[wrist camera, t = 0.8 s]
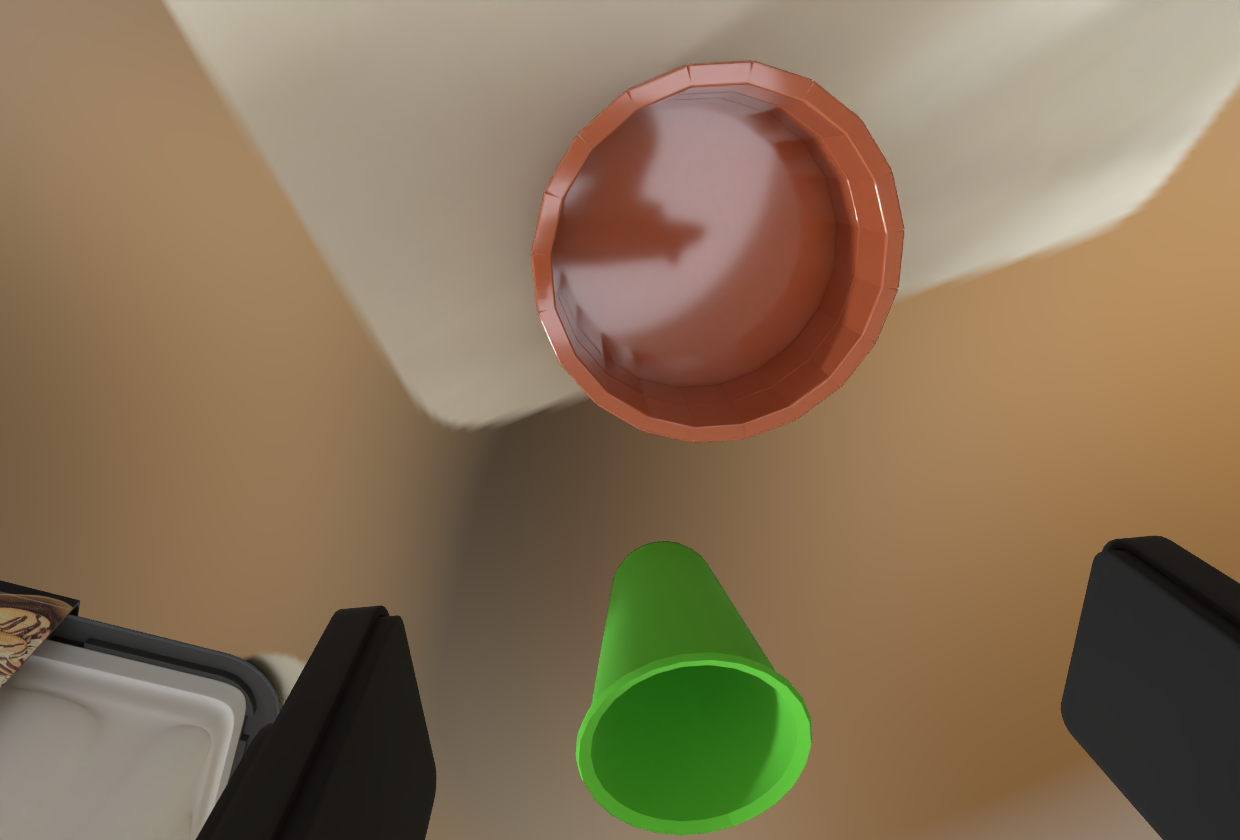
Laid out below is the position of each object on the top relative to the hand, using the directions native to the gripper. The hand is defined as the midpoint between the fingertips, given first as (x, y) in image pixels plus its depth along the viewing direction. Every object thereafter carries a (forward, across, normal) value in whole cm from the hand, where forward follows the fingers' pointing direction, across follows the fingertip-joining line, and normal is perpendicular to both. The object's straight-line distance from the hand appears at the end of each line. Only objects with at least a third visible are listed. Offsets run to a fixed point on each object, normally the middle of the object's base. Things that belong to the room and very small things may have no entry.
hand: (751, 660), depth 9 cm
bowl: (+22, -3, -3) cm, 23 cm away
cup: (+23, -1, +14) cm, 27 cm away
